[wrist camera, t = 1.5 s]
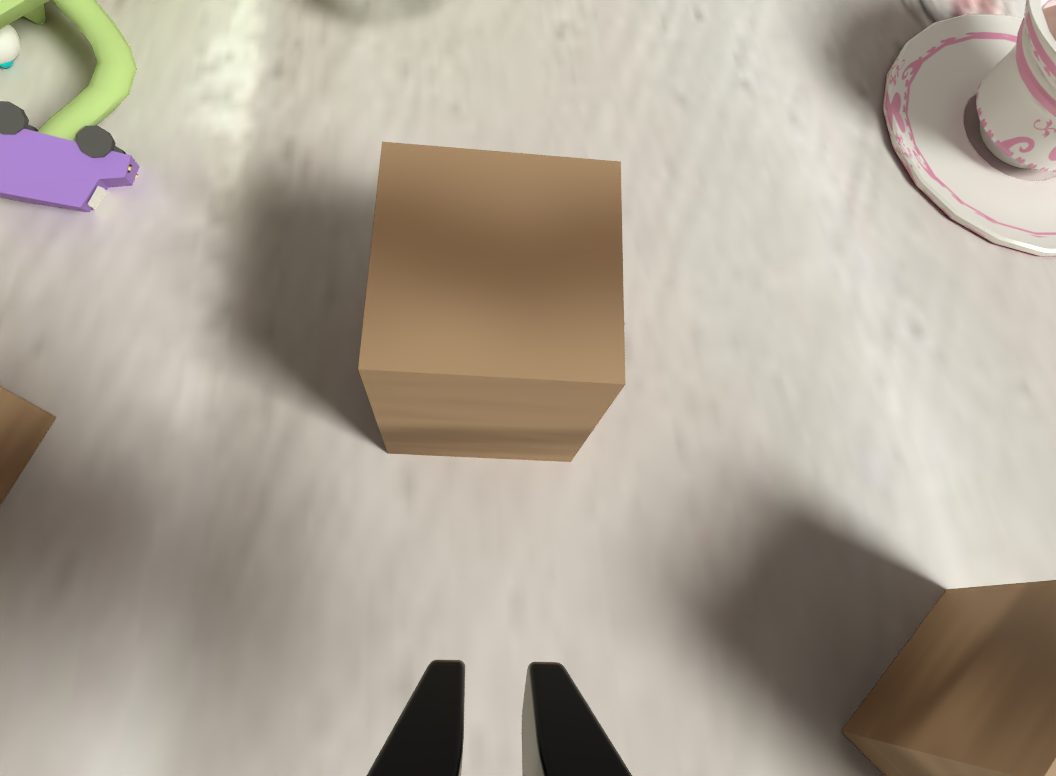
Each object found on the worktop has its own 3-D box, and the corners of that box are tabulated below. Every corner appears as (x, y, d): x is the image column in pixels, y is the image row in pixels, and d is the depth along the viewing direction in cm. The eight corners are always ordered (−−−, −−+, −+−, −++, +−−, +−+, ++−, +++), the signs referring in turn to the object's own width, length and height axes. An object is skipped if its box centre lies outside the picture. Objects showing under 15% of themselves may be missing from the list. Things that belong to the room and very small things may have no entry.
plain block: (570, 462, 24) (625, 384, 16) (387, 453, 24) (358, 369, 16) (571, 298, 26) (620, 161, 18) (402, 287, 25) (382, 141, 18)
